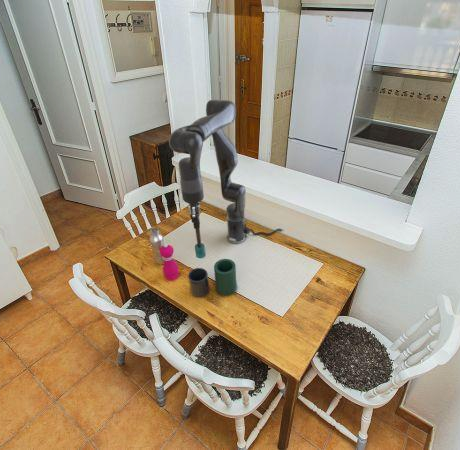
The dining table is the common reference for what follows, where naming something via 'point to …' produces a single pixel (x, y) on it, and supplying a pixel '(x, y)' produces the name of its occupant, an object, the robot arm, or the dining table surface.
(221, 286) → the green jar
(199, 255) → the bottle brush
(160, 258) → the silver metal bottle
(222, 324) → the dining table surface
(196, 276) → the pot
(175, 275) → the pepper mill
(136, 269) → the dining table surface
